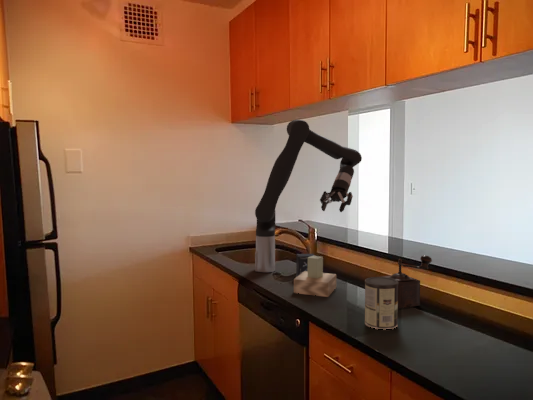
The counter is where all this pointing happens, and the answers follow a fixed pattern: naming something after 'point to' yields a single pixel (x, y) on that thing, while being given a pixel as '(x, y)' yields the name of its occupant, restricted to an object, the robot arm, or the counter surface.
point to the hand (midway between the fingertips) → (331, 210)
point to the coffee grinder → (409, 284)
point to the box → (302, 263)
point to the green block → (315, 266)
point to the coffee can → (381, 302)
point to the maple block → (315, 284)
